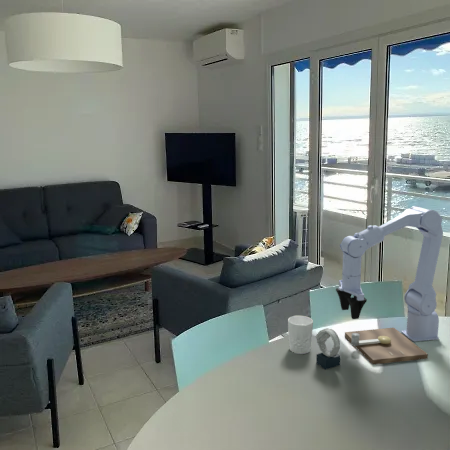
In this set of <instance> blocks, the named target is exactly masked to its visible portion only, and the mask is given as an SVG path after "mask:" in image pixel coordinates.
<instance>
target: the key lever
mask: <svg viewBox="0 0 450 450" xmlns="http://www.w3.org/2000/svg"><path fill="white" fill-rule="evenodd" d="M350 343H351V344H350V345H351V346H353V347H355V346H359V345H366V344H376V343H381V344H390V343H391V338H389V337H387V336H379V337H378V339H371V340H361V341H359V334H357V333H352V339H351V342H350Z"/></svg>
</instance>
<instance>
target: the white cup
mask: <svg viewBox="0 0 450 450" xmlns="http://www.w3.org/2000/svg"><path fill="white" fill-rule="evenodd" d="M313 327H314V320H313V319H312V318H311V317H308V316H305V315H293V316H292V315H291V316H290V317H288V319H287V330H288V331H287V332H288V333H287V334H288V344H289V346H288V347H289V351H291V352H292V353H293V352H294V353H293V354H298V355H303V354H308V353H309V352H310V351H311V349H312V347H311V346H312V337H313Z"/></svg>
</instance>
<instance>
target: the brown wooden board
mask: <svg viewBox="0 0 450 450" xmlns="http://www.w3.org/2000/svg"><path fill="white" fill-rule="evenodd" d="M352 333H357V334H359V341H361V340H371V339H378V337H379V336H387V337H389V338H391V343H390V344H381V343H376V344H366V345H359V346H354V347H355V348H356V350H358V351H359V352H360V353H361V354H362V355H363V357H364V358H365V359H367V360H368V362H369V363H371V364H372V365H382V364H389V363H390V364H393V363H398V362H399V363H400V362H407V361H408V362H410V361H417V360H418V361H419V360H427V359H428V358H429V357H428V356H429V354H428V353H427V352H426V351H425V350H423V349H422V348H421V347H419V346H418V345H417V344H416V343H415V342H414V341H412V340H411V339H409V338H408V337H407V336H405V335H404V334H403V333H402V332H401V331H399V330H397V329H396V328H395V327H386V328H375V329H373V328H372V329H363V330H354V331H344V337H345V338H346V340H348V341H349V343H351V339H352Z"/></svg>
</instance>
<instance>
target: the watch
mask: <svg viewBox="0 0 450 450" xmlns="http://www.w3.org/2000/svg"><path fill="white" fill-rule="evenodd" d="M330 337H331V339H332V342H333V347H332V349H328V348H327V346H326V342H327V341H328V339H329V338H330ZM315 339H316V343H317V345H318V348H319V350H320V352H318V353H316V356H315V357H316V362H315V363H316V364H317V365H318V366H319V367H321V368H322V369H324V370H330V369H332V368H336V367H339V366H341V355H340V354H338V353H339V352H340V349H341V342H340V338H339V336H338V334H337V332H336V331H335V330H334V329H332V328H323V329H322V330H320V331H319V332H317V333H316V336H315Z"/></svg>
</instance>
